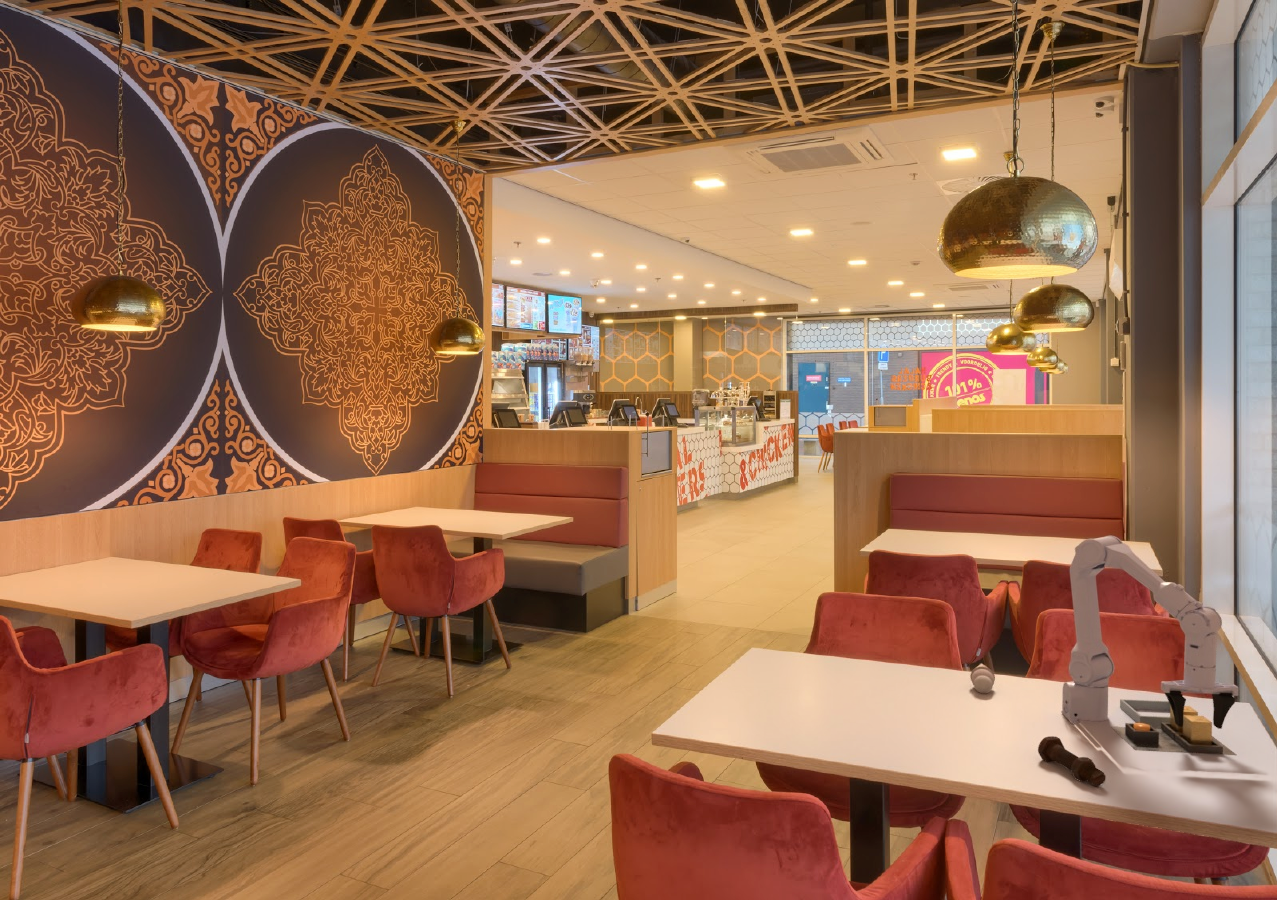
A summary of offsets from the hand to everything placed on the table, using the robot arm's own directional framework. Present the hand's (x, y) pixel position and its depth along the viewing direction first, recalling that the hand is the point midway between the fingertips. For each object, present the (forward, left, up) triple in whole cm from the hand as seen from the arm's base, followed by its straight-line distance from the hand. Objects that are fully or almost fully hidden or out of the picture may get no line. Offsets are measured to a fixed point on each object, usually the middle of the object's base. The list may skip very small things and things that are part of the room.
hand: (1198, 726), depth 189 cm
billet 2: (0, +1, -5) cm, 5 cm away
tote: (-1, +18, -6) cm, 19 cm away
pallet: (-4, +3, -6) cm, 8 cm away
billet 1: (0, +7, -5) cm, 8 cm away
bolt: (-30, -15, -6) cm, 34 cm away
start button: (-10, +3, -4) cm, 11 cm away
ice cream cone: (-36, +39, -6) cm, 54 cm away
